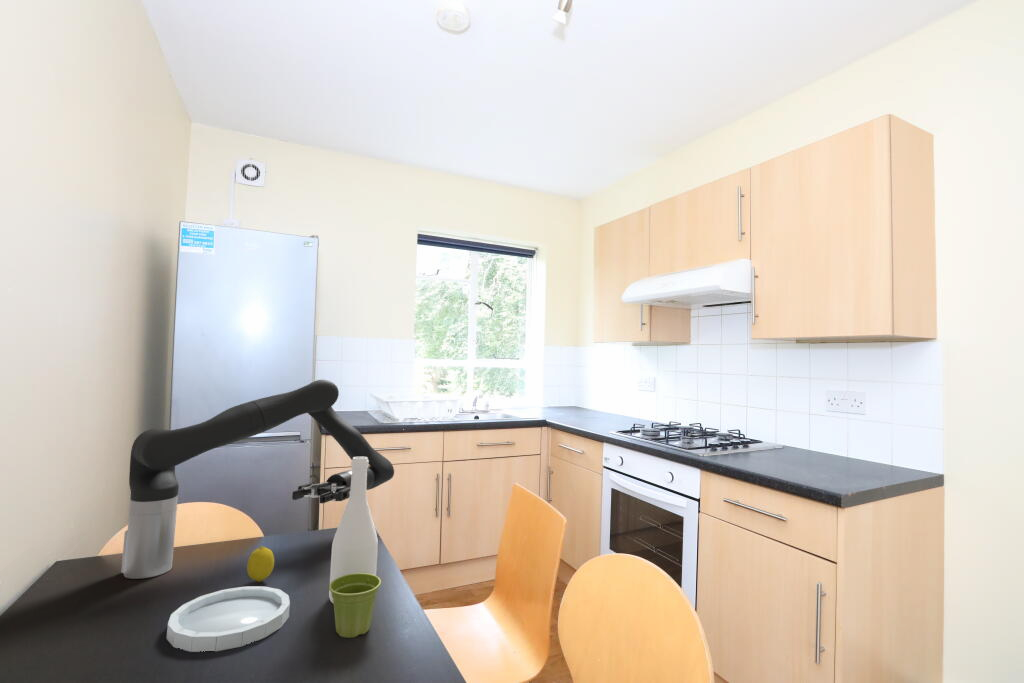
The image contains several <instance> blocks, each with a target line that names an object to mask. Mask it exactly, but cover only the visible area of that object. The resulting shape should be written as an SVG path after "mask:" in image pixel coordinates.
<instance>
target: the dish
mask: <svg viewBox="0 0 1024 683" xmlns="http://www.w3.org/2000/svg"><path fill="white" fill-rule="evenodd" d="M290 607H291V601H290V596H289V594H287V592H284V591H283V590H281V589H280V588H275V587H268V586H264V585H263V586H253V585H252V586H249V585H247V586H245V585H244V586H238V587H232V588H225V589H221V590H217V591H214V592H213V591H212V592H211V593H207V594H204V595H200V596H198V597H196V598H195V599H194V598H193V599H192V600H189V601H188V602H186V603H183V604H182V605H181V606H180V607H178V608H177V609H175V610H174V611H173V612H172V613H170V617H169V620H168V621H167V628H166V629H167V630H166V640H167V641H168V643H169V644H170V645H171V646H172V647H173V648H175V649H178V648H180V649H179V650H182V649H183V651H187V652H190V653H193V652H194V653H200V651H201V653H202V652H203V651H204V653H206V652H205V651H215V652H219V651H224V650H230V649H234V648H235V649H236V648H240V647H243V646H246V644H247V645H249V644H252V643H255V642H256V641H260V640H262V639H265V638H267V637H268V636H270V635H272V634H273V633H275V632H276V631H277V630H279V629H281V628H282V627H283V626H284V624H285V623H286V622H287V620H288V619H289V618H290ZM254 641H255V642H254ZM251 642H252V643H251Z"/></svg>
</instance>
